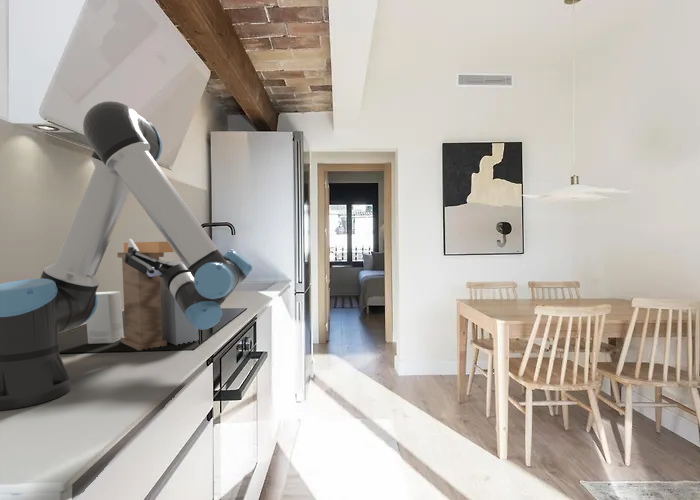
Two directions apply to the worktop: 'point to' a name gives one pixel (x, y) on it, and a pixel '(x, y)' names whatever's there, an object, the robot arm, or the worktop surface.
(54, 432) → the worktop surface
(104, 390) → the worktop surface
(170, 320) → the slate block
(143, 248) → the orange blank
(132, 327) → the walnut shelf stand
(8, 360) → the robot arm
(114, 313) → the skincare box
